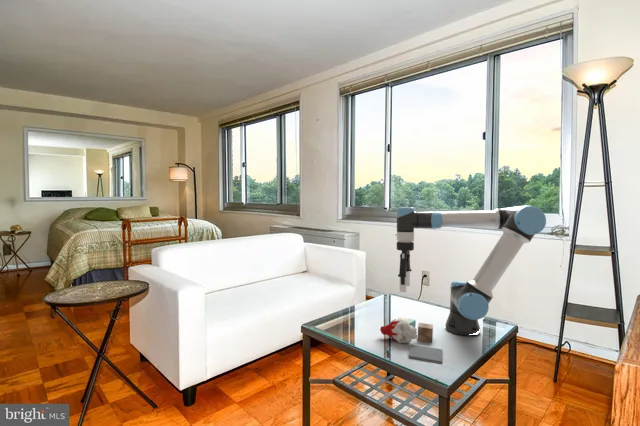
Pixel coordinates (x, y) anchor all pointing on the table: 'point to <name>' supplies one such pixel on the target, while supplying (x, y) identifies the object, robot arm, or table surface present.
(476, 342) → the table surface
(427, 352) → the mat
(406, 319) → the cream capsule cylinder
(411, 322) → the teal block
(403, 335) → the white two-tone toothed figurine
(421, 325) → the walnut cube
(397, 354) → the table surface
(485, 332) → the table surface
